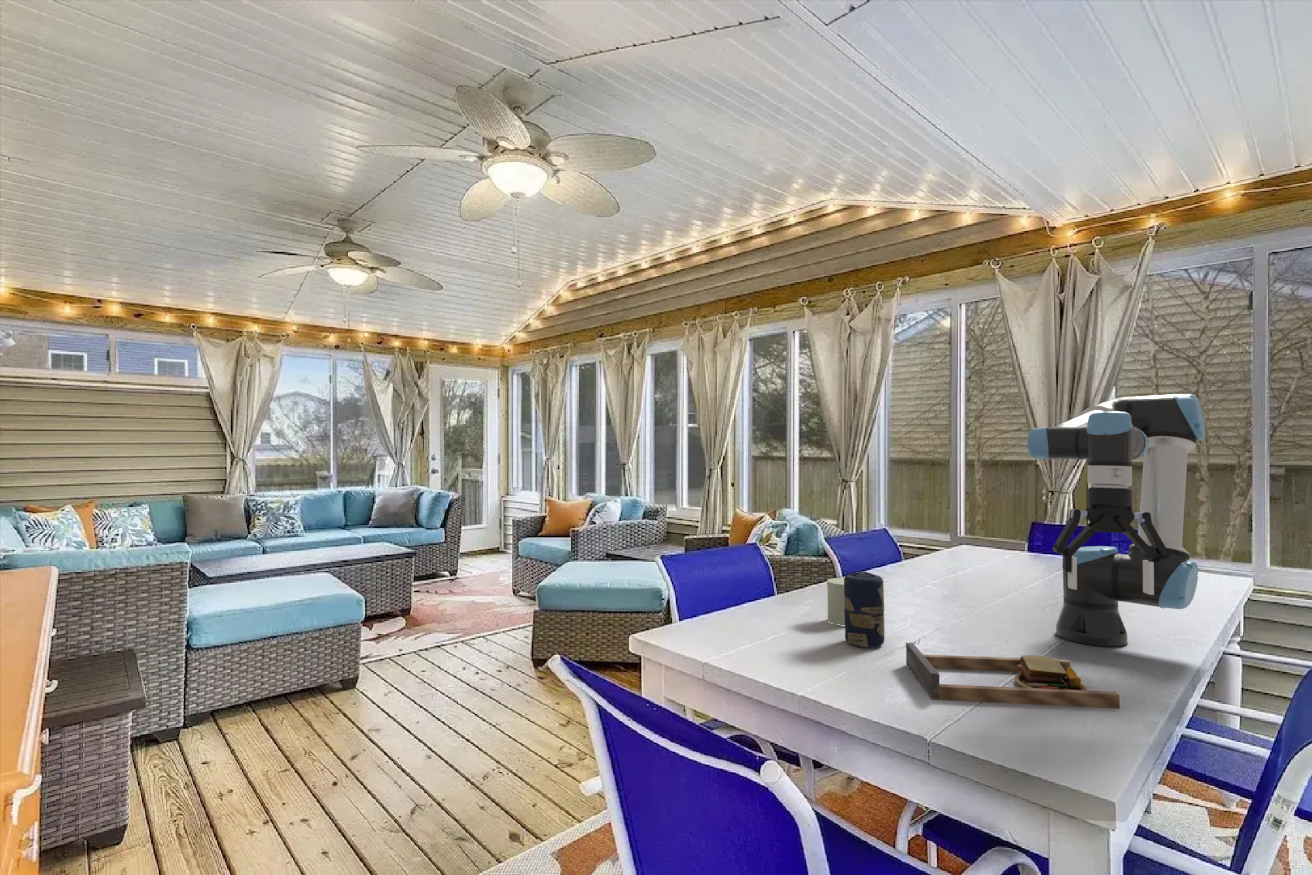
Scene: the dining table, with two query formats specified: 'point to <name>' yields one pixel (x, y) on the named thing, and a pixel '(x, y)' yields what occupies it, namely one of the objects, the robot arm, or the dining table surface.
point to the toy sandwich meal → (1046, 674)
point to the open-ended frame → (929, 680)
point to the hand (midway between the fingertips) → (1109, 591)
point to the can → (836, 601)
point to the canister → (864, 609)
